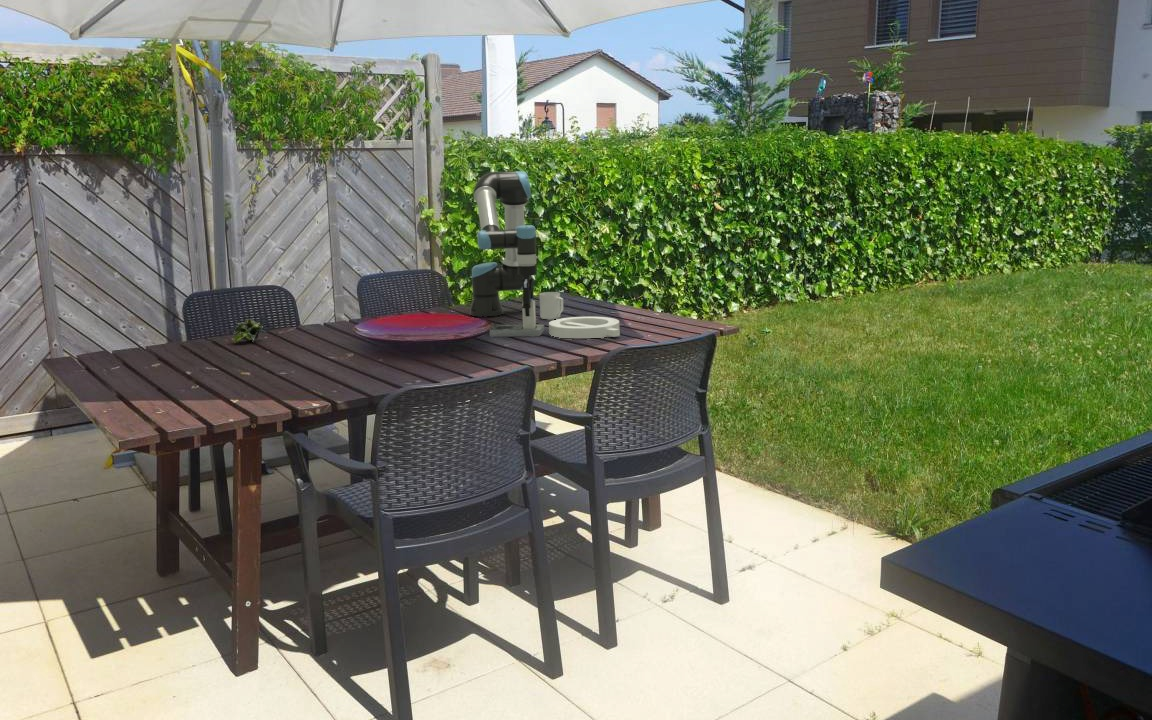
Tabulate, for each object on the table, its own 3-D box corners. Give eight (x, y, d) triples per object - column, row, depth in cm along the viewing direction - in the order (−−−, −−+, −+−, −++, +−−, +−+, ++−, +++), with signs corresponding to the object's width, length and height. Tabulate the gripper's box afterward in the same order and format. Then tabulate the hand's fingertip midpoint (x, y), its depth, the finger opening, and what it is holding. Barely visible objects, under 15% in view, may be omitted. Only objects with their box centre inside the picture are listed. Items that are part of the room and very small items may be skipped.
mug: (536, 319, 409) (535, 293, 407) (550, 316, 416) (549, 291, 413) (556, 321, 401) (555, 295, 399) (570, 318, 408) (569, 293, 405)
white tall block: (525, 332, 377) (523, 298, 374) (536, 332, 377) (534, 298, 374) (523, 334, 373) (522, 300, 370) (534, 334, 372) (533, 300, 370)
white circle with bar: (620, 339, 359) (620, 327, 358) (547, 341, 359) (547, 329, 358) (618, 327, 386) (618, 315, 385) (550, 328, 387) (550, 317, 386)
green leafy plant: (252, 354, 377) (266, 328, 379) (257, 353, 367) (272, 326, 370) (226, 341, 372) (240, 314, 375) (230, 339, 362) (245, 312, 365)
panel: (495, 330, 383) (495, 324, 382) (544, 330, 381) (544, 324, 380) (489, 336, 370) (489, 330, 370) (539, 336, 368) (539, 330, 367)
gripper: (533, 267, 360) (535, 326, 365) (539, 262, 378) (541, 319, 383) (513, 267, 361) (516, 327, 365) (521, 262, 379) (523, 319, 383)
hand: (529, 322), depth 374 cm, fingers open, 5 cm apart
